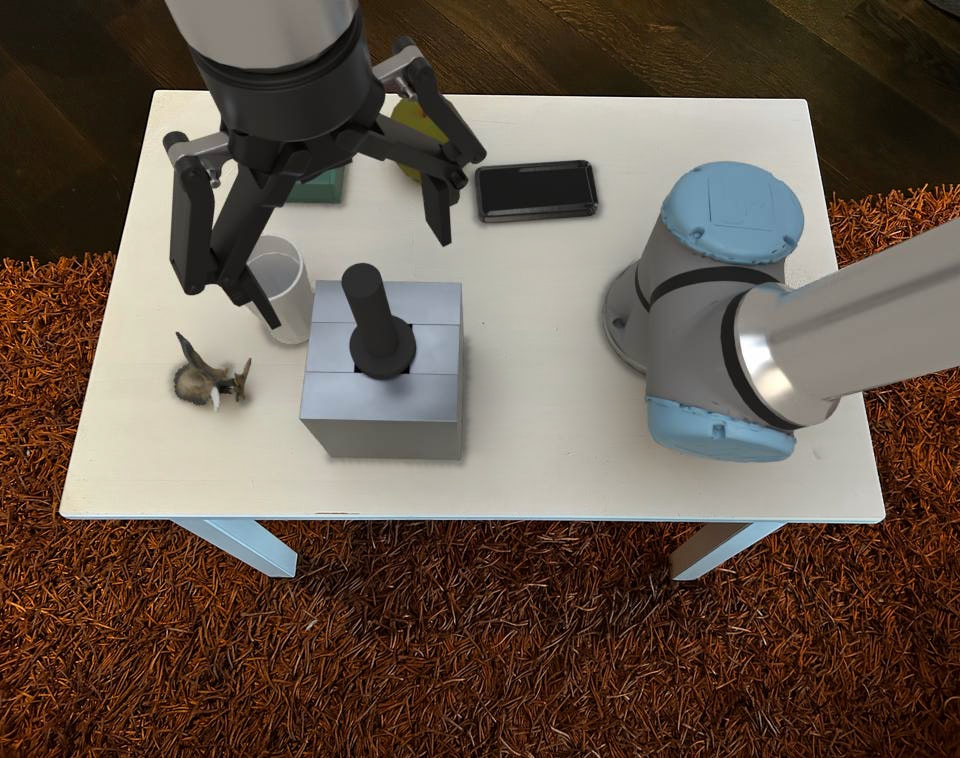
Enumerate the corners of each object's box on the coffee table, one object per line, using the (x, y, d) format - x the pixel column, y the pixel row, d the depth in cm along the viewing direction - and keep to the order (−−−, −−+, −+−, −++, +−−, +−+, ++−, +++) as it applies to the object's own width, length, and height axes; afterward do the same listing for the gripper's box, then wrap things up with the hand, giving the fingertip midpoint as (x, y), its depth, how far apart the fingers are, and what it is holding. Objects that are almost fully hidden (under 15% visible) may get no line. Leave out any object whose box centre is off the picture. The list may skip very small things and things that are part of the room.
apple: (471, 192, 83) (471, 131, 73) (395, 201, 82) (384, 140, 72) (461, 131, 87) (459, 64, 76) (388, 138, 86) (377, 72, 76)
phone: (599, 209, 81) (479, 217, 80) (597, 215, 82) (479, 223, 81) (590, 158, 84) (474, 165, 83) (588, 164, 85) (474, 171, 84)
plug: (430, 347, 63) (416, 267, 49) (396, 398, 61) (372, 329, 47) (377, 319, 64) (350, 232, 50) (343, 368, 62) (304, 292, 48)
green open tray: (347, 139, 86) (342, 117, 82) (340, 203, 82) (334, 184, 79) (263, 137, 86) (254, 116, 82) (252, 201, 82) (242, 182, 79)
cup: (317, 356, 75) (289, 308, 64) (251, 343, 75) (211, 293, 64) (336, 296, 78) (312, 240, 66) (272, 284, 78) (238, 226, 67)
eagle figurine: (264, 351, 74) (188, 323, 73) (242, 364, 67) (156, 334, 66) (246, 411, 75) (171, 385, 75) (222, 430, 68) (139, 401, 68)
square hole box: (464, 342, 76) (461, 282, 62) (460, 460, 70) (457, 421, 57) (343, 340, 76) (316, 279, 62) (331, 457, 70) (298, 418, 57)
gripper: (483, -133, 31) (479, 165, 51) (-54, 63, 26) (173, 307, 46) (568, -36, 28) (529, 237, 48) (-3, 198, 24) (213, 393, 44)
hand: (356, 271), depth 47 cm, fingers open, 13 cm apart
